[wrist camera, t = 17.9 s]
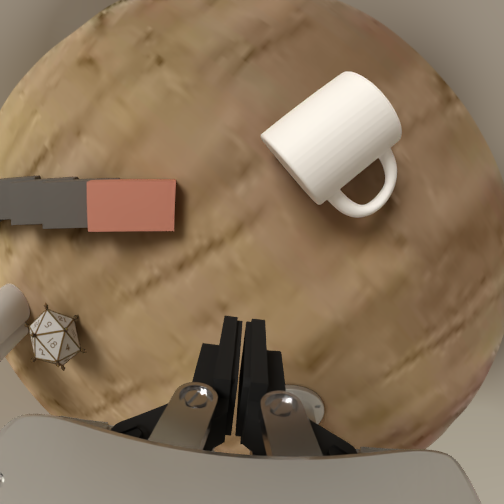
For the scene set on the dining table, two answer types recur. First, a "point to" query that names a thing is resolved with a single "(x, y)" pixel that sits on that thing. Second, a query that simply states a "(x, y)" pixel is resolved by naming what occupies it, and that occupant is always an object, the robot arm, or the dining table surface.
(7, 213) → the black tile
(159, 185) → the red tile
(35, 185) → the dark gray domino tile
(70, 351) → the game die
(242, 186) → the dining table surface
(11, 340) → the vase
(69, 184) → the black tile
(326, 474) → the robot arm
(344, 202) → the mug
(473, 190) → the dining table surface
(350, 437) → the dining table surface
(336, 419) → the dining table surface
